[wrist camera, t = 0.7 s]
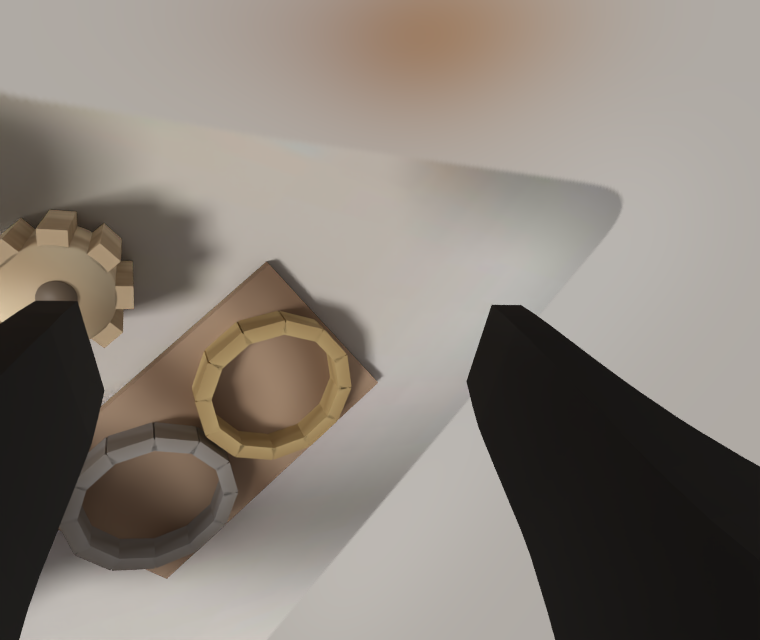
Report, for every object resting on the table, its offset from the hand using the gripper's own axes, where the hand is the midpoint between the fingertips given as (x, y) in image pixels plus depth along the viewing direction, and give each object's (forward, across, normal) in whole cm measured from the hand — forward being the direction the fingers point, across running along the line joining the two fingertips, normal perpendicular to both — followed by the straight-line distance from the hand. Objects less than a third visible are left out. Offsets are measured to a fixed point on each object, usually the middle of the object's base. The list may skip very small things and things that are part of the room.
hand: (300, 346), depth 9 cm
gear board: (+13, +4, +18) cm, 22 cm away
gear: (+14, +10, +8) cm, 19 cm away
